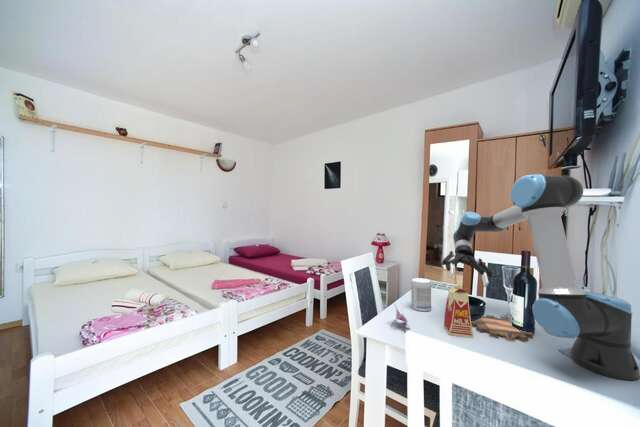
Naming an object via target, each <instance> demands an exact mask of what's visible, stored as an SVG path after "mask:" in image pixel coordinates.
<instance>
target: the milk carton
mask: <svg viewBox="0 0 640 427" xmlns="http://www.w3.org/2000/svg"><path fill="white" fill-rule="evenodd" d="M452 285H453V286H452V288H451V289H450V290H448V294H447V298H446V303H445V312H444V317H443V318H444V320H443V328H444V329H445V330H446V331H447V334H448V336H456V337H464V338H472V339H474V338H475V336H474V331H473V327H472V325H471V312H470V302H469V301H470V300H469V292H468V291H466V290H464V289H462V288H461V287H462V285H456V284H452Z"/></svg>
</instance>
